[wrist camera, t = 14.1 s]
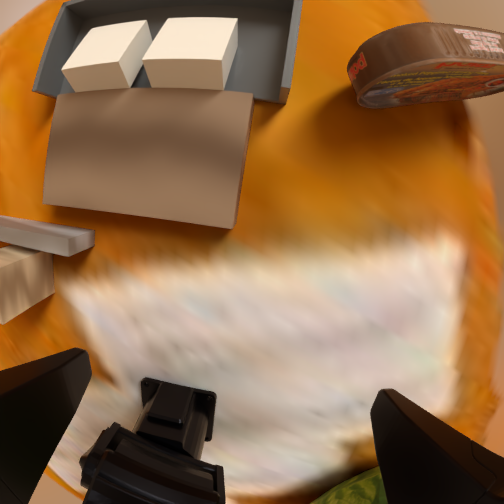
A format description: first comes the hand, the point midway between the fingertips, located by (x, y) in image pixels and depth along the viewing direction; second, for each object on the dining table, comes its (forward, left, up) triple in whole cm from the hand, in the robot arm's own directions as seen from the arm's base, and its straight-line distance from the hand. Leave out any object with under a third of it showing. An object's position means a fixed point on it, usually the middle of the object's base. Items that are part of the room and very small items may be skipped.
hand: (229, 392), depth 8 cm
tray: (+15, +8, -13) cm, 21 cm away
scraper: (-3, +18, -13) cm, 22 cm away
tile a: (+13, +5, -11) cm, 18 cm away
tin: (+16, -11, -13) cm, 23 cm away
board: (+7, +8, -13) cm, 17 cm away
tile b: (+13, +11, -11) cm, 20 cm away
